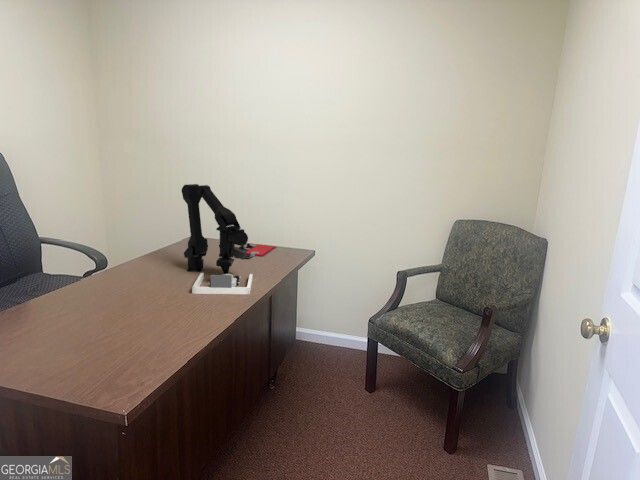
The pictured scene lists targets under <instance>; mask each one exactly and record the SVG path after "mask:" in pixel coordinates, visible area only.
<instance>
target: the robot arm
mask: <svg viewBox="0 0 640 480" xmlns="http://www.w3.org/2000/svg"><path fill="white" fill-rule="evenodd" d="M181 194H182V198H183V200H184V202H185V203H186V204H187V212H188V222H189V229H190V231H189V233H190V236H189V240H188V241H187V248H186V249H185V251H184V252H183V257H184V258H186V259H187V269H186V271H187V272H202V271H203V269H204V268H205V260H204V257H206V255H207V252H208V249H209V245H208V239H207V238H205V237H204V236H203V233H202V232H203V231H202V230H203V229H202V221H201V210H200V202H201V201H202V199H203V200H204V202H205V203H206V204H207V205H208V206H209V207H208V208H209V209H210V210H211V211H212V212H213V214H214V219H215V222H216V223H217V225H218V227H216V228H215V229H216V231H219V244H218V247H219V254H218V258H217V260H216V262H215V263H216V267H220V269H221V270H222V274H230V273H229V272H230V268H231V267H232V266H233V263H234V261H235V259H234V257H236V258H239V259H241V260H245V258H244V257H245V255H246V252H247V251H246V250H245V249H246V248H245V245H247V244H248V241H249V236H248V234H247V233H246V232H245V229H243V228H241V225H240V223H239V221H238V219H237V216H236V214H235V213H234V212H233V211H232V210H231V209H229V208H227V207H225V206H224V205H223V204H222V202H221V201H220V200H219V198H218V197H217V196H216V194H215V193H214V192H213V191H212V190H211V187H210V185H208V184H204V185H199V184H198V183H194V184H193V183H192V184H191V183H189V184H188V183H187V184H183V186H182V188H181ZM236 245H237V246H238V247H237V246H236Z"/></svg>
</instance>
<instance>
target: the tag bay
mask: <svg viewBox="0 0 640 480" xmlns="http://www.w3.org/2000/svg"><path fill="white" fill-rule="evenodd" d="M232 275H233V274H232ZM232 275H222V274H211V275H210V281H211V285H210V286H201V285H202V282H203V281H204V277H205V274H204V272H200V273H199V275H198V277H197V278H196V280H195V282H194V283H193V285H192V287H191V294H193V295H194V294H196V295H197V294H200V295H203V294H204V295H206V294H208V295H218V294H219V295H250V294H251V289H252V284H253V279H254V278H253V273H249V276H248V281H247V285H246V286H244V287H243V286H236V287H232Z"/></svg>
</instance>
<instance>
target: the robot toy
mask: <svg viewBox="0 0 640 480" xmlns="http://www.w3.org/2000/svg"><path fill="white" fill-rule="evenodd" d="M221 275H232V287H239V284H241V282H240V279H241V275H240V276H239V275H235V276H234V275H233V274H231V273H228V274H224V273H222V274H221ZM208 284H209V285H210V286H211V280H210V281H208Z"/></svg>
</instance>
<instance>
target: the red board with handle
mask: <svg viewBox="0 0 640 480" xmlns="http://www.w3.org/2000/svg"><path fill="white" fill-rule="evenodd" d="M276 248H277V246H274V245H266V244H265V245H263V244H257V245H252V244H250V243H246V248H245V250H246V251H247V252H246V255H245V257H244V259H251V258H252V257H259V258H263V257H265V256H266V255H268V254H269V253H271V252H272V251H274V250H275V249H276Z"/></svg>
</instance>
